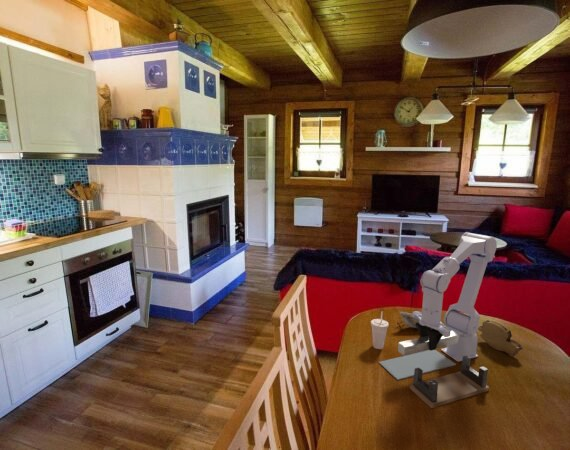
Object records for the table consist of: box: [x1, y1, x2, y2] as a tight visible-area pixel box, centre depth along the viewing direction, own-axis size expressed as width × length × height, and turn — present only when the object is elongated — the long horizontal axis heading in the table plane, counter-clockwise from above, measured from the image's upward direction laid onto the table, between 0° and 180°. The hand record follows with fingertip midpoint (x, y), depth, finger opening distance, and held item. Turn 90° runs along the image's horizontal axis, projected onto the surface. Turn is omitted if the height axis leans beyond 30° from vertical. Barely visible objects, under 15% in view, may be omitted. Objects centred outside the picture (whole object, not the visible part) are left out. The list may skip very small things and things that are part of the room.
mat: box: [378, 349, 457, 381], centre depth 119 cm, size 24×10×1 cm, turn 110°
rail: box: [397, 331, 459, 356], centre depth 113 cm, size 22×3×3 cm, turn 110°
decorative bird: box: [396, 311, 419, 330], centre depth 143 cm, size 5×16×8 cm, turn 90°
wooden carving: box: [477, 319, 523, 357], centre depth 128 cm, size 16×5×10 cm, turn 26°
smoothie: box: [370, 311, 390, 350], centre depth 128 cm, size 6×6×14 cm
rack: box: [409, 356, 490, 409], centre depth 105 cm, size 22×9×7 cm, turn 110°
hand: (428, 346), depth 113 cm, fingers closed on rail, 3 cm apart
